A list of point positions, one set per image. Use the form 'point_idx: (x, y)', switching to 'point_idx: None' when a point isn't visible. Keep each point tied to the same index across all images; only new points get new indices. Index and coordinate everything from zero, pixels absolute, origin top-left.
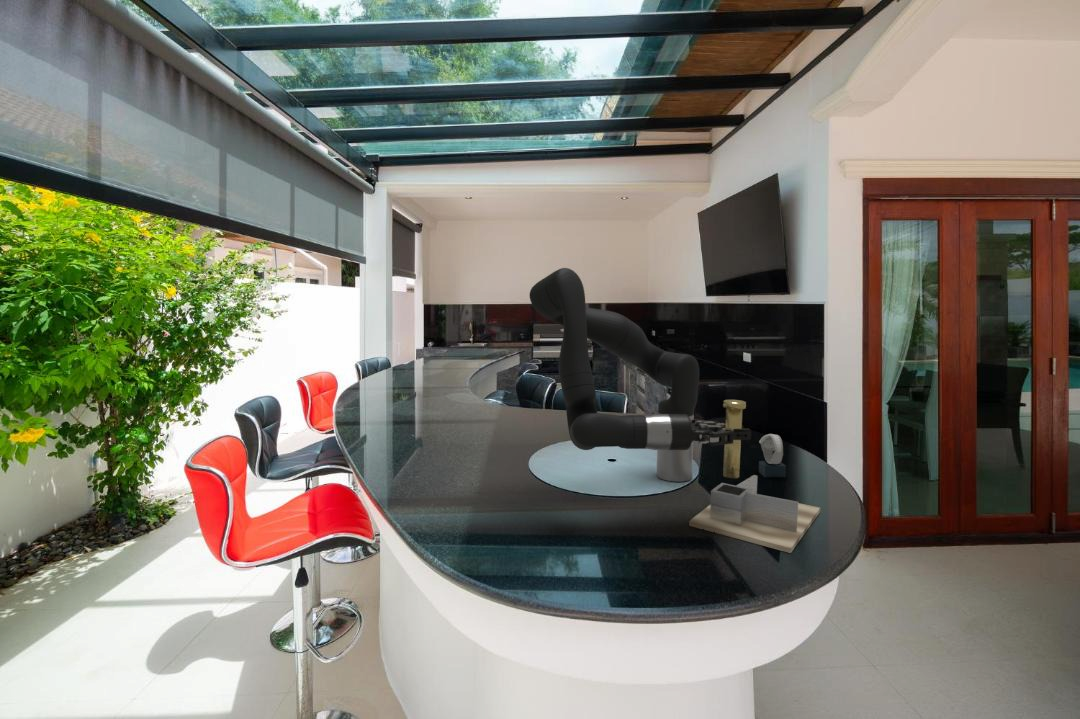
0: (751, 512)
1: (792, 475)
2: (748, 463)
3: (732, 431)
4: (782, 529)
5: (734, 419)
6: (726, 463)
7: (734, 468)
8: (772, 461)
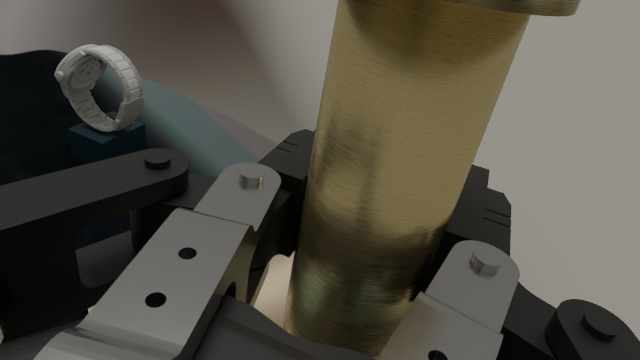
0: None
1: (151, 137)
2: (15, 132)
3: (610, 322)
4: None
5: (482, 136)
6: None
7: None
8: (118, 126)
